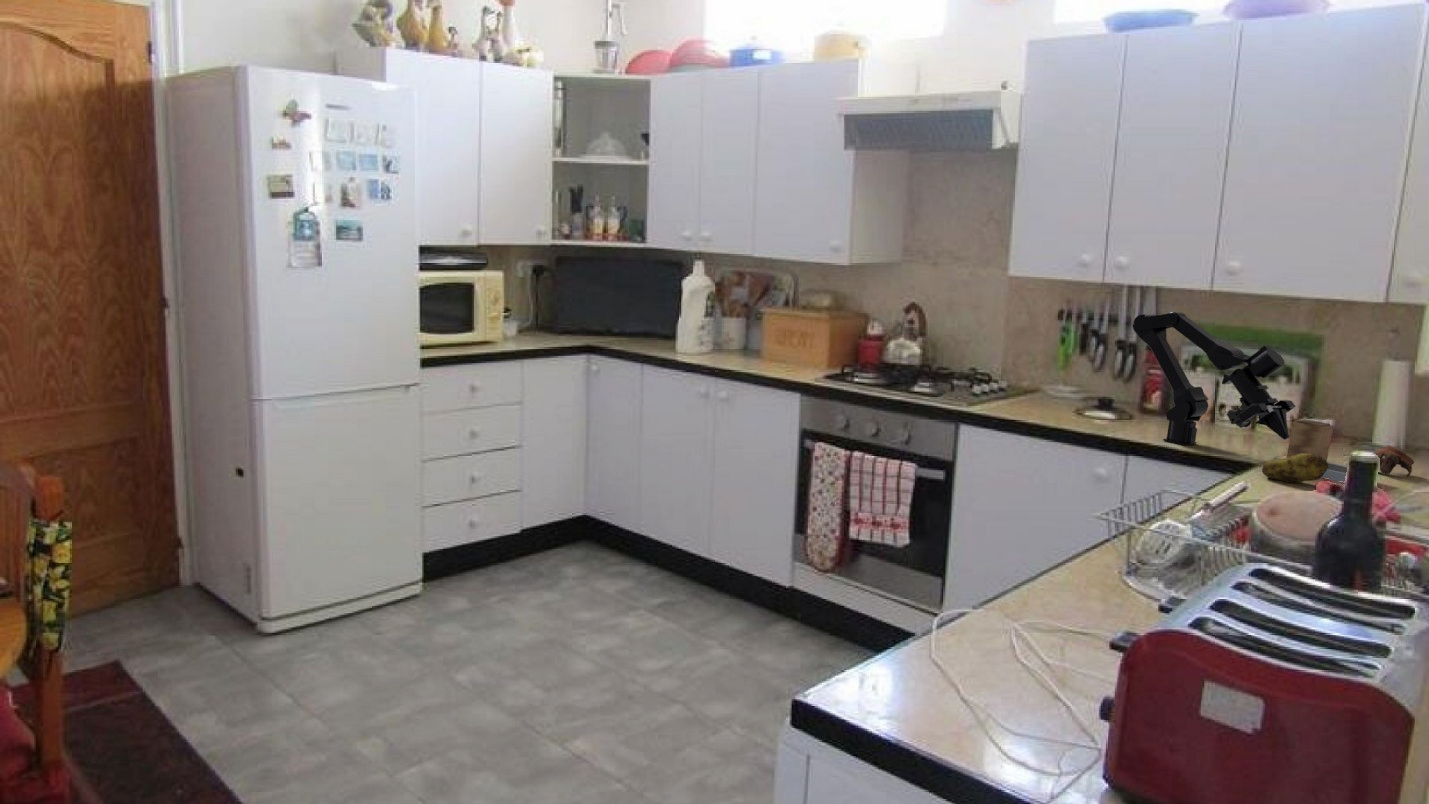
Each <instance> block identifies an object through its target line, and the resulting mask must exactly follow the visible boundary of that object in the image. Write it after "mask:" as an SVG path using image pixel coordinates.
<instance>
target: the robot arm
mask: <svg viewBox="0 0 1429 804" xmlns="http://www.w3.org/2000/svg"><path fill="white" fill-rule="evenodd" d="M1171 328H1172V329H1173V328H1174V329H1175V330H1176V331H1177V332H1178V333H1180V334H1181V335H1182V336H1184V337H1185V338H1187V340H1189V341H1190V342H1191V343H1193V344H1194V345H1195V346H1197V347H1198V348H1199V349H1201V350H1202V351H1203V352H1204V354H1205V355H1206V357H1207V359H1208V360H1209V361H1210V362H1211V364H1212V365H1213V366H1214V367H1215V368H1216V369H1218V370H1221V371H1232V370H1233V371H1232V372H1230V373H1224V374H1223V378H1222V381H1221V384H1222V385H1230V384H1232V385H1233V386H1234V388H1235V389H1236V391H1237V393H1238V394H1239V395H1240V396H1241V397H1240V398H1239V399H1238V400H1239V402H1240V404H1241V405H1240V407H1237V408H1236V409H1229V410H1228V412H1227V413H1226V415H1227V418H1228V419H1229V422H1230V424H1231V425H1235V426H1238V427H1239V428H1240V429H1243V428H1248V427H1249V426H1250V425H1252V421H1253V420H1254V419H1255V417H1257V419H1258V420H1256V421H1255V422H1254V424H1255V425H1262V426H1263V425H1264V426H1266V427H1267V428H1269V429H1270V430H1271V431H1272V432H1274V433H1275V434H1277V435H1278V437H1279V438H1281V439H1282V440H1287V439H1290V433H1289V428H1288V420H1287V413H1289V412H1290V411H1292V410H1293V409H1295V408H1296V405H1295V404H1294V402H1293V401H1292V400H1290V399H1281V400H1278V399H1277V397H1272V396H1271V395H1270V393H1269V392H1268V391H1267V390H1269V387H1268V386H1267V384H1266V385H1263V384H1262V382H1261V381H1260V379H1259V378H1262V379H1267V378H1269V376H1271V375H1272V374H1274V373H1275V372H1276V371H1278V370H1280V369H1281V368H1282V367H1284V366H1285V365H1286V362H1285V360H1284V358H1283V356H1282V355H1281V354H1279V353H1278V352H1277V351H1276V350H1274V349H1272V348H1271V346H1269V345H1263V346H1262V347H1260V348H1259V350H1257V351H1256V352H1255V353H1253V354H1252V355H1249V354H1245V353H1244V352H1243V351H1242V350H1241V349H1240V348H1237V347H1236V346H1233V345H1232V344H1230V343H1227V342H1224V341H1221V340H1220V339H1217V338H1216V337H1214V335H1212V334H1211V333H1209V332H1208V331H1207V330H1206V329H1204V328H1202V327H1201V326H1200V325H1198V324H1197V323H1196V322H1195V321H1193V320H1192V319H1191V318H1189V317H1188V316H1187V315H1186V314H1185V313H1184V312H1182V311H1171V312H1168V313H1163V314H1153V313H1151V314H1147V313H1146V314H1139V315H1137V316H1136V317H1135V318H1134V320H1133V323H1132V329H1133V331H1134V333H1135V334H1136V335H1137V336H1138V338H1139V339H1140V340H1141V341H1142V342H1144V343H1145V344H1146V345H1148V347H1149V348H1150V350H1151V352H1152V354H1153V355H1154V357H1155V360H1156V361H1157V363H1158V365H1159V367H1160V369H1161V370H1162V372H1163V374H1164V377H1165V378H1166V380H1167V382H1168V385H1170V387H1171V390H1172V402H1173V404H1174V406H1173V407H1172V408H1170V409H1169V410H1167V411H1166V412H1165V416H1166V420H1167V421H1168V427H1167V434H1166V437H1165V438H1163V439H1162V440H1163V441H1164V442H1168V443H1173V444H1178V445H1181V446H1188V445H1196V444H1197V441H1196V440H1197V432H1198V428H1197V422H1199V421H1201V420H1200V419H1201V418H1202V416H1204V415H1206V413H1207V411H1208V408H1209V402H1208V400H1209V398H1208V397H1207V396H1206V394H1205V392H1204V389H1203V388H1202V386H1193V384H1192V383H1191V382H1190V380H1189V378H1188V377H1187V375H1186V374H1185V372H1184V370H1183V368H1182V366H1181V364H1180V363H1179V361H1178V359H1177V357H1176V355H1175V353H1174V351H1173V348H1172V347H1171V346H1170V343H1169V341H1168V339H1167V329H1171ZM1242 366H1244V367H1242ZM1241 367H1242V368H1241Z"/></svg>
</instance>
